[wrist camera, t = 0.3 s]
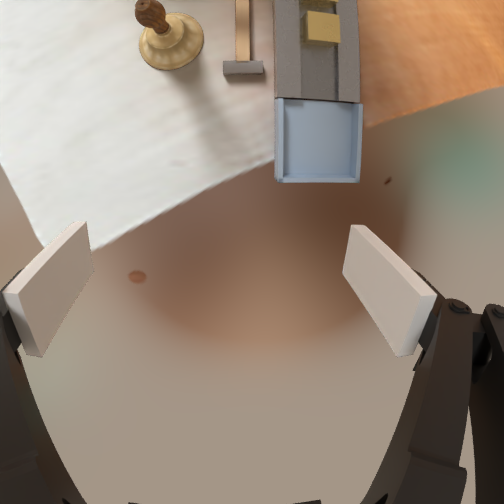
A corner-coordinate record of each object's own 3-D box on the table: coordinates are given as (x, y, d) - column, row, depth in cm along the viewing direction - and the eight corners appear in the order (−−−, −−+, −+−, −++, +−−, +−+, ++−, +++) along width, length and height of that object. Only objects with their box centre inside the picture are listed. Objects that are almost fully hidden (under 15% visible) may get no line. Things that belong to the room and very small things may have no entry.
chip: (301, 17, 31) (307, 10, 28) (331, 20, 31) (339, 15, 29) (302, 44, 33) (308, 39, 30) (332, 47, 33) (340, 42, 30)
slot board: (271, -44, 27) (273, -49, 26) (348, -33, 28) (352, -37, 26) (274, 97, 36) (276, 97, 35) (354, 102, 37) (359, 102, 36)
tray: (274, 99, 37) (278, 98, 34) (354, 104, 37) (362, 104, 35) (274, 178, 41) (278, 182, 39) (351, 178, 42) (359, 182, 39)
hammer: (222, -14, 29) (223, -18, 28) (259, -14, 30) (261, -18, 28) (223, 74, 35) (223, 73, 33) (261, 74, 35) (262, 72, 34)
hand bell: (215, 47, 33) (212, 8, 19) (160, 82, 34) (123, 65, 20) (182, 2, 30) (163, -52, 15) (128, 37, 31) (80, 2, 16)
